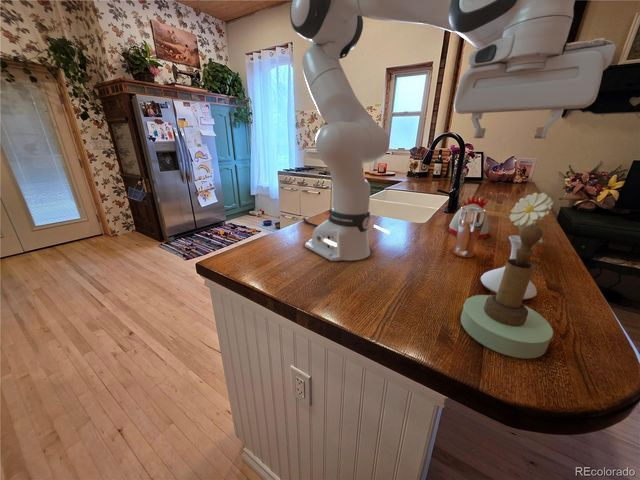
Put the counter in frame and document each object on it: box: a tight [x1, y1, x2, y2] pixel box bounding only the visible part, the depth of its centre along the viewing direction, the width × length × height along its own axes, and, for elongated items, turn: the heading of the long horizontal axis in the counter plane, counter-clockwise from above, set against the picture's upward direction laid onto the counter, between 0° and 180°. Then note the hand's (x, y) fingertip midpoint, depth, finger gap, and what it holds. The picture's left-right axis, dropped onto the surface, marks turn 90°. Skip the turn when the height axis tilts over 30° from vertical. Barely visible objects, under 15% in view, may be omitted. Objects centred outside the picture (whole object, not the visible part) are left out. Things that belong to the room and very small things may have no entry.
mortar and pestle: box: [484, 225, 543, 326], centre depth 46 cm, size 7×6×18 cm
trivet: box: [460, 294, 554, 359], centre depth 50 cm, size 14×14×4 cm
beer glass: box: [452, 206, 487, 258], centre depth 81 cm, size 7×7×15 cm
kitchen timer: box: [448, 195, 490, 240], centre depth 101 cm, size 14×14×15 cm
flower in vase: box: [480, 192, 554, 300], centre depth 58 cm, size 13×11×25 cm
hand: (507, 138), depth 48 cm, fingers open, 8 cm apart
